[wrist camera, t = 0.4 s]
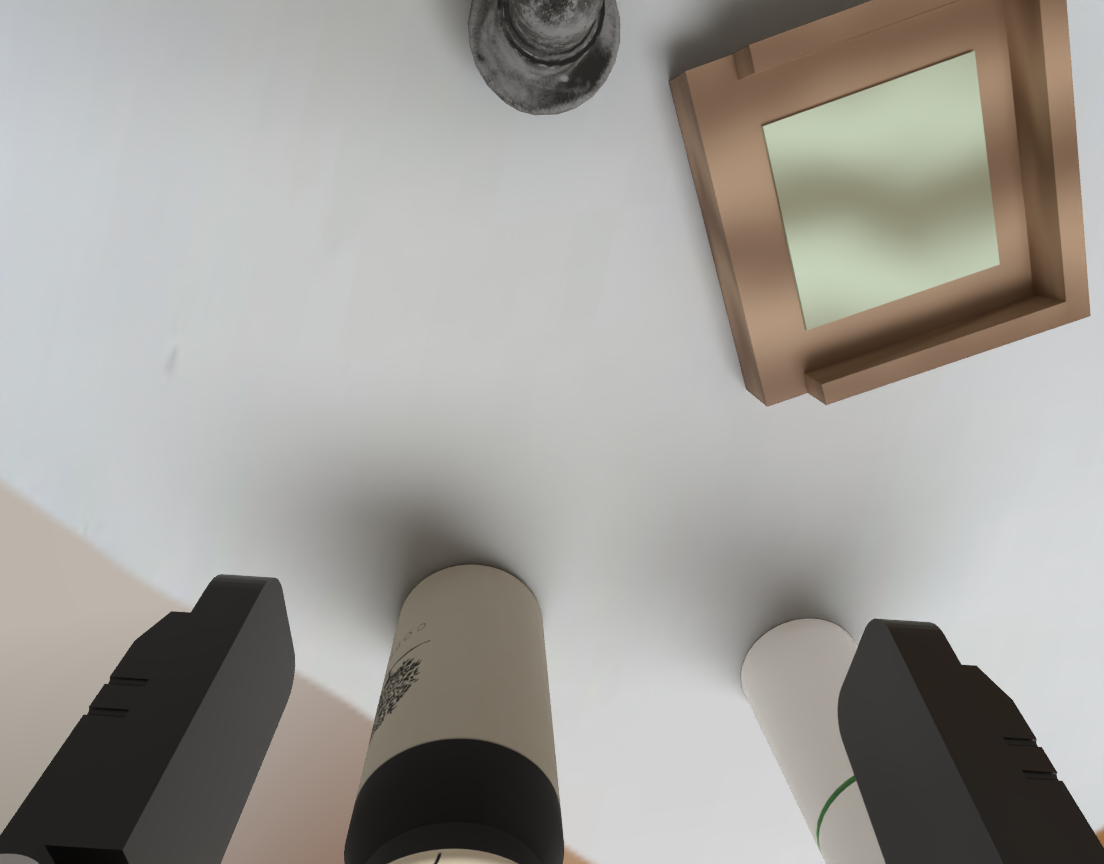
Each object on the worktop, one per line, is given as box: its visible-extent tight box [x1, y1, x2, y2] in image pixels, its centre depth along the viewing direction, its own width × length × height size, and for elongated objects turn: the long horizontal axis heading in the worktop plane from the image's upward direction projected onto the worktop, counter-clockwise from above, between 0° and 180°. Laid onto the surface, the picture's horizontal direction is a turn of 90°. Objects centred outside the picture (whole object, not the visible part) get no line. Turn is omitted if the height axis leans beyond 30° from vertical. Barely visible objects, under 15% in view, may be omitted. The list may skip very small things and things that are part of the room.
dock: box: [669, 0, 1090, 406], centre depth 31 cm, size 15×14×5 cm
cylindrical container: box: [741, 618, 886, 864], centre depth 31 cm, size 7×7×25 cm
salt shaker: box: [468, 0, 620, 115], centre depth 25 cm, size 6×6×12 cm
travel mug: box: [344, 565, 564, 864], centre depth 31 cm, size 8×8×18 cm
